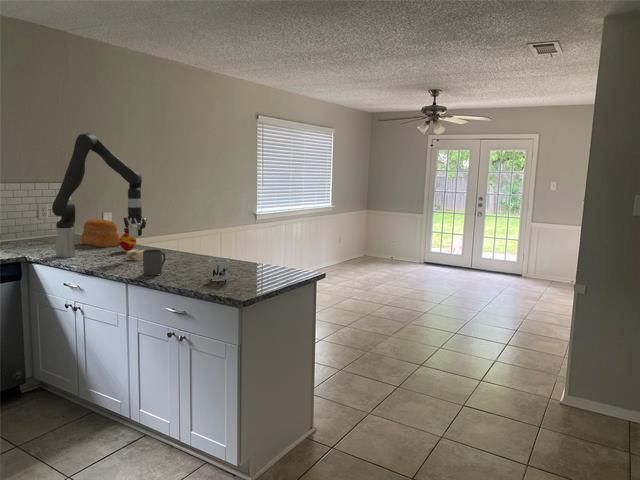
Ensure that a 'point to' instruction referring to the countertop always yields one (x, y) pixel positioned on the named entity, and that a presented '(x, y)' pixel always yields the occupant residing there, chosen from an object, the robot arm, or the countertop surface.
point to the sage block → (133, 231)
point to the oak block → (135, 255)
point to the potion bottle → (127, 241)
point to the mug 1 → (153, 262)
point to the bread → (100, 233)
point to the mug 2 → (218, 268)
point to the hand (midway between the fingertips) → (135, 235)
